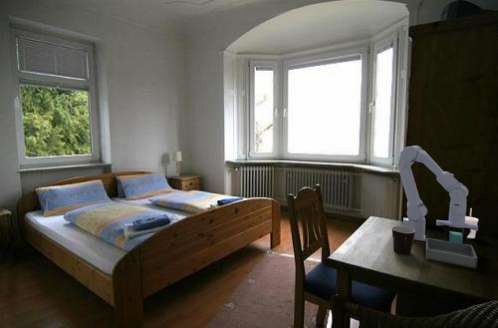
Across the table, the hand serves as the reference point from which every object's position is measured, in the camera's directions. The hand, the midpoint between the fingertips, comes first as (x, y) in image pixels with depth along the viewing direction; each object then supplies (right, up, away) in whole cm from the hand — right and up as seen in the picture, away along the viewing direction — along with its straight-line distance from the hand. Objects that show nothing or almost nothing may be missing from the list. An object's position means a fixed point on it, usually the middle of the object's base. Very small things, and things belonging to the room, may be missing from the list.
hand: (454, 243), depth 124 cm
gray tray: (-9, -3, -9) cm, 13 cm away
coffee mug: (-27, -3, -6) cm, 28 cm away
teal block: (0, -2, 0) cm, 2 cm away
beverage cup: (+15, 0, +12) cm, 19 cm away
